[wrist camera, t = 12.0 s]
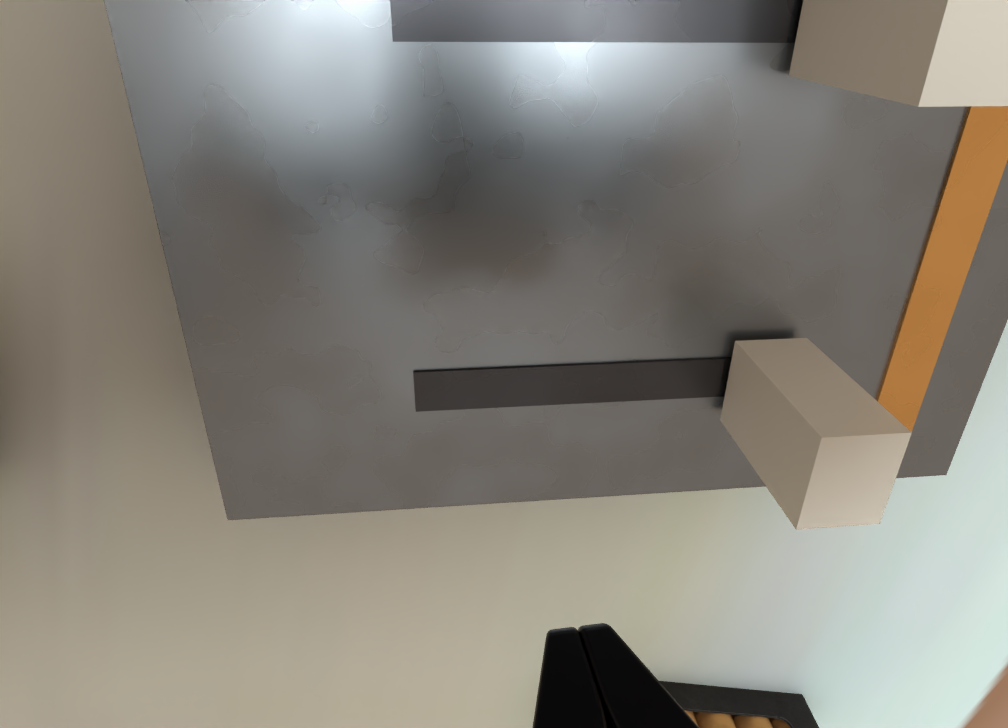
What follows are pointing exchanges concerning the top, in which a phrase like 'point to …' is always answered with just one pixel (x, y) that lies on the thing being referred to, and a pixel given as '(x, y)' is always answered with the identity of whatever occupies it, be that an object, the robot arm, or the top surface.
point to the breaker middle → (907, 49)
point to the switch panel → (542, 241)
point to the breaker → (812, 433)
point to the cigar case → (741, 707)
